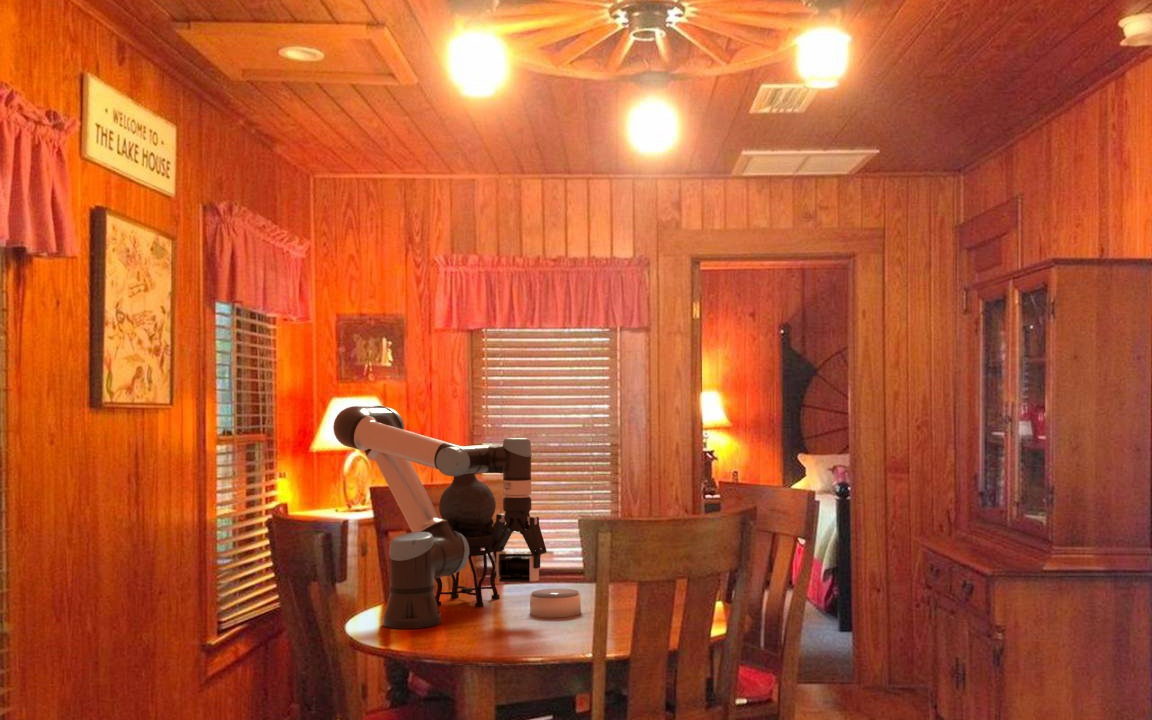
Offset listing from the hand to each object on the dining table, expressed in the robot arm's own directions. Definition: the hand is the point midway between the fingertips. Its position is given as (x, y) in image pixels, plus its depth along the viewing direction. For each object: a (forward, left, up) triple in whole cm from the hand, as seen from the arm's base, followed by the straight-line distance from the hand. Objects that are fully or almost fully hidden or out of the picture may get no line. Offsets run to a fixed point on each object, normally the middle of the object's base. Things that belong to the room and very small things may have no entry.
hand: (517, 578), depth 281 cm
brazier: (-35, +13, -11) cm, 39 cm away
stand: (-1, +15, -11) cm, 19 cm away
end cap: (0, 0, -1) cm, 1 cm away
